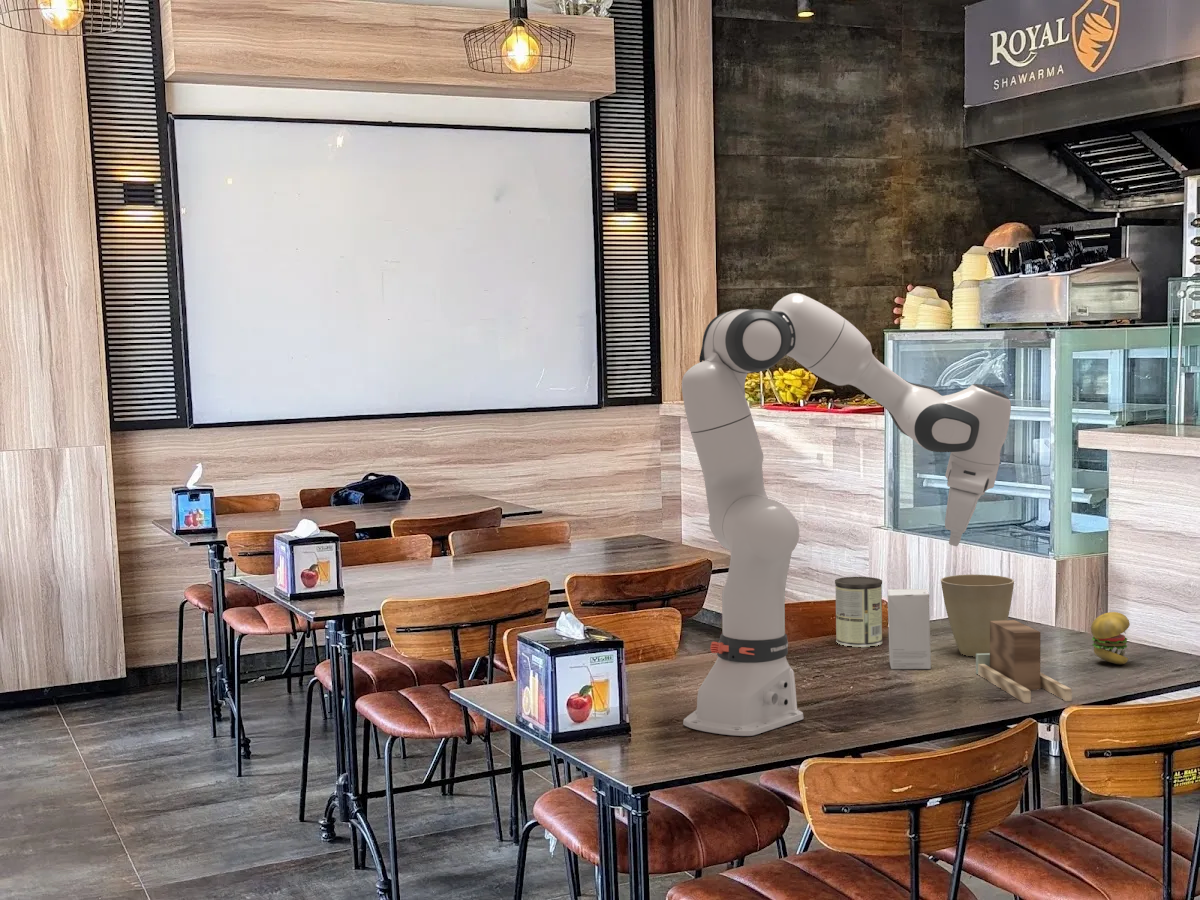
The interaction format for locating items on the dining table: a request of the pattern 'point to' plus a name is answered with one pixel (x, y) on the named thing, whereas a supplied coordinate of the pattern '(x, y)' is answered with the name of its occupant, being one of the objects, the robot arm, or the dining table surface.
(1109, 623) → the hamburger
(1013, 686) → the chute
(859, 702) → the dining table surface
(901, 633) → the skincare box
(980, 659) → the end stop
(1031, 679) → the block
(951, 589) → the plant pot
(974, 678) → the dining table surface
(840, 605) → the coffee can
